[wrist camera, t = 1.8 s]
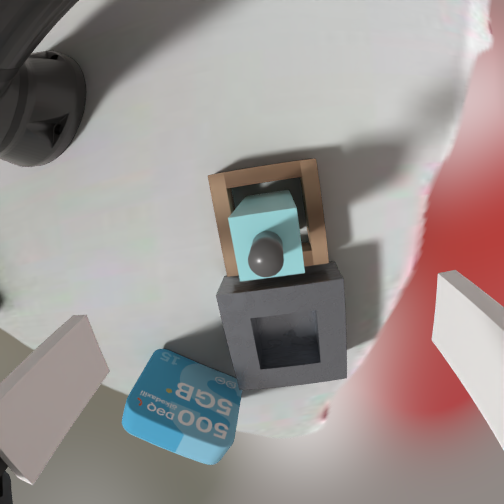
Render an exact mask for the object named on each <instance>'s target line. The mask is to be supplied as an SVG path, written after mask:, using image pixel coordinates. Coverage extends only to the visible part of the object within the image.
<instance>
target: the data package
mask: <svg viewBox="0 0 504 504" xmlns="http://www.w3.org/2000/svg"><path fill="white" fill-rule="evenodd" d="M241 394H242V390H239V387H238V383H237V379H236V378H234V377H232V376H230V375H227V374H224V373H222V372H219V371H217V370H214V369H212V368H209V367H207V366H205V365H202V364H200V363H197V362H195V361H193V360H190V359H188V358H186V357H183V356H181V355H179V354H176V353H174V352H172V351H170V350H167V349H158V350H156V351H155V352H154V353H153V355H152V357H151V358H150V360H149V362H148V363H147V365H146V367H145V368H144V370H143V372H142V373H141V375H140V377H139V379H138V380H137V382H136V384H135V385H134V387H133V389H132V391H131V392H130V394H129V396H128V398H127V401H126V405H125V409H124V414H123V418H122V425H123V427H124V429H125V430H126V431H127V432H128V433H130V434H132V435H134V436H136V437H138V438H140V439H143V440H145V441H147V442H149V443H152V444H154V445H156V446H159V447H161V448H164V449H166V450H169V451H171V452H174V453H176V454H179V455H182V456H184V457H187V458H190V459H193V460H195V461H198V462H201V463H204V464H208V465H210V464H211V465H212V464H216V463H218V462H219V461H220V460H221V458H222V457H223V456H224V454H225V453H226V452H227V450H228V449H229V448H230V446H231V445H232V444H233V442H234V438H235V432H236V426H237V419H238V413H239V407H240V401H241Z"/></svg>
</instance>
